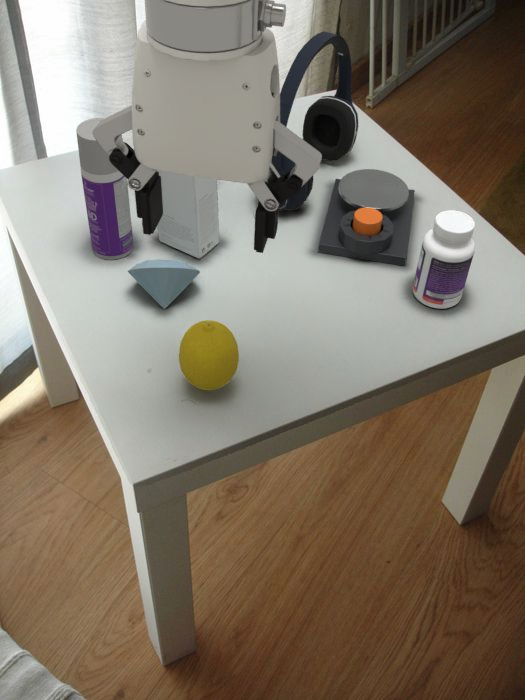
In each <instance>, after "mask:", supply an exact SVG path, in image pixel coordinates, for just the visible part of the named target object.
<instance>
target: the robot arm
mask: <svg viewBox="0 0 525 700" xmlns="http://www.w3.org/2000/svg"><path fill="white" fill-rule="evenodd" d="M144 10H145V11H144V12H145V13H144V14H145V20H144V21H143V22H142V23H141V25H140V28H138V31H137V37H136V41H135V42H136V43H135V49H134V50H135V51H134V60H133V68H132V69H133V72H132V85H131V88H132V89H131V105H129V106H128V107H125V108H123V109H121V110H119V111H117V112H115V113H113V114H111V115H109V116H107V117H104V118H105V119H103V120H101V121H99V122H98V124H97V125H96V127H95V128H94V129H93V136H94V137H95V139H96V140H97V142H98V143H99V144H100V146H101V147H102V149H103V150H104V151H105V153H106V152H107V154H108V155H109V160H110V162H111V164H112V165H113V166H114V167H115V168H116V169H118V170H119V171H120V172H121V173H122V174H123V175H124V176H125V177H126V178H127V183H128V188H129V189H130V190H132V191H134V198H135V209H136V210H135V211H136V217H137V218H138V219H141V223H142V233H143V235H148V236H151V235H153V234H154V233H155V231H156V229H157V228H158V223H159V221H160V219H161V217H162V215H163V202H162V186H161V176H159V172H157V170H159V171H164V172H170V173H177V174H183V175H190V176H196V177H203V178H210V179H217V181H223V182H224V181H225V182H231V183H238V184H247V186H248V187H249V189H250V190H251V191H252V193H253V194H254V196H255V197H256V198H257V200H258V203H257V206H256V208H255V212H254V231H253V234H254V235H253V236H254V237H253V250H254V251H255V252H256V253H260V254H263V253H264V251H265V248H266V245H267V242H268V239H272V240H275V239H276V235H277V233H278V227H279V213H280V211H279V205H280V204H281V203H283V202H284V201H286V200H287V199H289V198H290V197H292V196H293V195H295V194H296V193H298V192H299V191H300V190H301V187H302V186H303V185H304V184H305V183H307V181H308V180H309V179H310V178H311V177H312V176H313V177H314V175H315V174H316V173H317V172H318V171H319V169H320V167H321V165H322V164H321V163H322V160H323V159H322V154H321V153H320V152H319V151H318V150H316V149H315V148H314V147H312V146H311V145H310V144H308V143H307V142H306V141H304V140H303V138H301V136H299V135H298V134H297V133H295V132H293V130H291V129H290V128H288V126H287V127H285V126H284V125H283V124H281V123H280V93H281V86H280V85H281V84H280V68H279V58H278V50H277V44H276V38H275V34H274V32H273V31H272V30H271V28H273V27H280V28H283V27H284V26H285V22H286V14H287V5H286V4H285V3H277V2H275V0H144ZM129 131H131V132H132V133H131V134H132V146H133V147H132V146H131V145H129V143H128V142H125V141H124V138H123V136H122V137H121V134H122V135H123V134H125V133H127V132H129ZM278 151H279V152H281V153H282V154H283V155H285V156H286V157H288V158H289V159H290V160H292V161H293V162H294V163H295V164H296V166H295V167H294V168H292V169H290V170H289V171H288V172H286V173H285V174H283V175H282V176H280V175H279V173H278V172H277V170H276V169H275V167H274V166H273V164H272V163H271V160H272V156H276V155H277V152H278Z"/></svg>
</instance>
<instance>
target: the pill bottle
mask: <svg viewBox="0 0 525 700" xmlns="http://www.w3.org/2000/svg"><path fill="white" fill-rule="evenodd" d="M475 225H476V224H475V220H474V219H473V217H472V216H470V215H469V214H467V213H465V212H464V211H460V210H453V209H449V210H448V209H447V210H443V211H441V212H439V213H437V214H436V216H435V219H434V222H433V226H432V228H431V229H429V230H428V231H427V232H426V233H425V234H424V236H423V239H422V243H421V248H420V252H419V257H418V261H417V266H416V269H415V275H414V279H413V284H412V293H413V295H414V297H415V298H416V300H418V301H419V303H421V304H423V305H425V306H427V307H429V308H434V309H438V310H439V309H449V308H452V307H454V306H456V305H457V304H458V303H460V301H461V300H462V297H463V294H464V290H465V287H466V282H467V280H468V276H469V272H470V269H471V265H472V263H473V259H474V256H475V252H476V243H475V240H474V238H473V234H474V231H475Z"/></svg>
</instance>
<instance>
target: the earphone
mask: <svg viewBox="0 0 525 700" xmlns="http://www.w3.org/2000/svg"><path fill="white" fill-rule="evenodd" d="M328 45H332V47H333V48H334V50H335V53H336V57H337V65H338V66H337V67H338V79H337V87H336V90H335V94H334V95H323V96H321V97H320V98H318V99H317V100H316V101H314V102H313V103H312V104H311V105H310V106H308V107H307V108H308V109H307V111H306V112H305V114H304V120H303V123H302V124H303V125H302V139H303V140H304V141H306V142H307V143H308V144H310V145H311V146H312V147H314V148H315V149H316V150H318V151H319V152H320V153H321V154H322V160H324V161H328V162H335V161H339V160H341V159H342V158H344V157H345V156H346V155H348V154H349V153H350V152H351V151H352V149H353V148H354V145H355V143H356V139H357V137H358V132H359V131H358V130H359V115H358V111H357V110H356V108H355V106H354V104H353V99H352V78H353V77H352V72H353V71H352V58H351V51H350V48H349V44H348V43H347V41H346V39H345V38H344V37H343V36H342V35H340V34H336V33H333V32H328V31H325V30H322V31H321V32H317V34H315V35H313V36H312V37H311V38H310V39H309V40H308V41H307V42H305V44H304V45H303V46H302V47H301V49H299V51H298V53H297V54H296V56H295V57H294V60H293V61H292V64H291V65H290V68H289V71H288V72H287V74H286V77H285V79H284V81H283V84H282V87H281V89H280V123H281V124H283V125H284V126H285V127H287V128H288V122H289V118H290V115H291V112H292V108H293V105H294V102H295V99H296V96H297V92H298V90H299V89H300V86H301V83H302V81H303V79H304V76H305V74H306V72H307V70H308V68H309V67H310V64H311V63H312V61H313V60H314V59H315V58H316V56H317V55H318V54H319V53H320V52H321V51H322V50H324V48H325V47H327V46H328ZM271 163H272V164H273V166H274V167H275V169H276V170H277V172H278V173H279V175H280V176H282V175H283V174H285V173H286V172H288V171H289V170H290V169H292V168H294V167H295V166H296V164H295V163H294V162H293V161H292V160H290V159H289V158H288V157H286V156H285V155H283V154H282V153H281V152H279V151H278V152H277V155H276V156H272V160H271ZM313 186H314V175H313V176H312V177H311V178H310V179H309V180H308V181H307V183H305V184H304V185H303V186H302V187H301V190H300V191H299V192H298V193H296V194H295V195H293V196H292V197H290V198H289V199H287V200H286V201H284V202H283V203H281V204H280V205H279V212H280V211H281V212H282V211H285V210H286V211H296V210H298V209H300V208H301V207H302V206H303V205H304V203H305V202H306V201H307V199H308V198H309V196H310V194H311V192H312V191H313V188H314V187H313Z"/></svg>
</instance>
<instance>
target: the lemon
mask: <svg viewBox="0 0 525 700" xmlns="http://www.w3.org/2000/svg"><path fill="white" fill-rule="evenodd" d="M179 344H180V345H179V351H178V362H179V366H180V371H181V373H182V375H183V376H184V378H185V379H186V381H187V382H188V383H189V384H190V385H191V386H193V387H195V388H197V389H199V390H203V391H215V390H216V391H217V390H219V389H221V388H223V387H225V386H226V385H228V383H229V382H231V381H232V379H233V378H234V376H235V374H236V372H237V370H238V366H239V361H240V354H239V347H238V346H239V345H238V342H237V339H236V338H235V336H234V333H233V332H232V331H231V329H229V327H228V326H227V325H225V324H224V323H222V322H219V321H217V320H209V319H208V320H207V319H205V320H201V321H198V322H196V323H194V324H193V325H191V326H189V328H188V329H187V330H185V332H184V334H183V337H182V338H181V340H180V343H179Z"/></svg>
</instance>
